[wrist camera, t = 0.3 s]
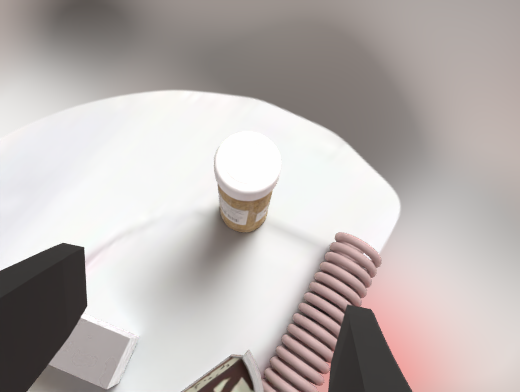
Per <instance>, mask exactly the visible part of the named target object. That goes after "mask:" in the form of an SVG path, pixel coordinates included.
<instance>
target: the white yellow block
mask: <svg viewBox="0 0 520 392" xmlns="http://www.w3.org/2000/svg"><path fill="white" fill-rule="evenodd" d="M139 338H140V337H139V336H137V335H134V334H132V333H130V332H127V331H125V330H122V329H120V328H118V327H115V326H113V325H111V324H108V323H106V322H103V321H101V320H99V319H96V318H94V317H92V316H89V315H87V314H85V313H83V314H82V316H81V318H80V320H79V321H78V323H77V325H76V326H75V328H74V330H73V331H72V333H71V335H70V336H69V338H68V339H67V340H66V342H65V343H64V344H63V346H62V347H61V348H60V350H59V351H58V352H57V354H56V355H55V356H54V357H53V359H52V360H51V361H50V363H49V364H48V365H50V366H53V367H55V368H57V369H60V370H62V371H64V372H67V373H69V374H71V375H74V376H76V377H78V378H81V379H83V380H85V381H88V382H90V383H92V384H95V385H97V386H99V387H102V388H104V389H106V390H107V389H109V388H111V387H112V386H114V385H116V384H118V383H119V382H120V380H121V377H122V375H123V373H124V371H125V369H126V366H127V364H128V362H129V360H130V358H131V355H132V353H133V351H134V349H135V347H136V344H137V342H138V340H139Z"/></svg>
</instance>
